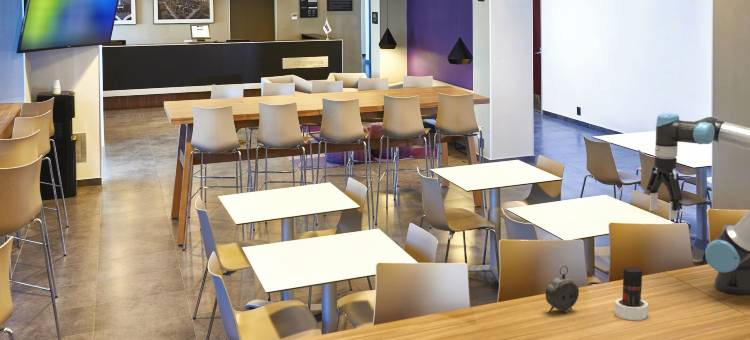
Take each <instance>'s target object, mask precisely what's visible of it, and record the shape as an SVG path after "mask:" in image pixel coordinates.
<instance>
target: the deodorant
mask: <svg viewBox="0 0 750 340" xmlns="http://www.w3.org/2000/svg"><path fill="white" fill-rule="evenodd" d="M622 275H623V278H622V279H623V281H622V298H623V300H622V305H624V306H628V307H641V300H642V286H643V269H642V268H641V267H639V266H638V267H637V266H625V267H624V268H623V273H622Z"/></svg>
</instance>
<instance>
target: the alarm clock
mask: <svg viewBox="0 0 750 340" xmlns="http://www.w3.org/2000/svg"><path fill="white" fill-rule="evenodd" d="M563 268H566V272H565V273H562V269H563ZM568 272H569V267H568V266H566V265H562V266H561V267H560V268H559V274H560V275H559V276H557V277H555V278H553V279H552V280H551V281H550V282H549V283H548V285H547V286H546V289H545V300H546V302H547V304H549V305H550V306H551V307H550V310H548V313H551V312H552V311H553V309H556V310H558V311H564V314H566V315H567V310H569V309H570V310H572V309H573V306H575V304H576V302H577V301H578V298H579V294H580V292H579V291H580V289H579V286H578V285H577V283H576V282H575V281H574V280H573V279H571V278H569V277H567V276H566V275H567V274H568Z"/></svg>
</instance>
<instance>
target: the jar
mask: <svg viewBox="0 0 750 340" xmlns="http://www.w3.org/2000/svg"><path fill="white" fill-rule="evenodd" d="M622 300H623V297H619V298H617V299H615V302H614V315H615V316H616V317H618V318H620V319H623V320H627V321H642V320H645V319H647V318H648V313H649V312H648V311H649V302H647V301H646V300H645V299H641V307H628V306H624V305H622Z"/></svg>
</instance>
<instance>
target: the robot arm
mask: <svg viewBox="0 0 750 340" xmlns="http://www.w3.org/2000/svg"><path fill="white" fill-rule="evenodd" d="M655 125H656V126H655V148H654V152H655V153H654V155H655V157H654V165H653V166H652V168H651V175H650V177H649V181H648V183H647V187H646V190H647V191H648V192H649V193H650V195H649V211H650V212H651V211H654V212H655V211H658V203H659V202H658V200H659V189H660V187H661V185H662V184H664V186H666V189H667V192H668V195H669V197H670V200H669V209H668V219H669V220H677V219H678V205H679V202H681V201H683V196H682V191H681V187H680V186H681V185H680V181H679V173H678V172H677V173H676V172H674V169H676V168H677V163H678V162H677V160H678V159H677V156H678V143H688V144H689V143H690V144H698V145H709V144H710V145H711V143H712V142H718V143H722V144H725V145H729V146H732V147H736V148H740V149H744V150H747V151H750V127H747V126H743V125H740V124H735V123H732V122H727V121H723V120H721V119H720V118H718V117H715V116H706V117H703V118H702V119H698V120H694V121H689V120H680V116H679V114H676V113H659V114H658V115H657V117H656V124H655ZM704 251H705V252H704V255H705V256H704V257H705V260H706V262H707V264H708V265H709V267H711V268H712V269H713V270H714V271H717V274H716V277H715V278H714V281H713V282H714V285H713V287H714V288H715V289H716V290H718V291H721V292H724V293H727V294H733V295H740V296H741V295H742V296H743V295H745V296H746V295H750V209H749V210H748V211H747V212H746V214H744V216H743V217H742V218H741V219H740V220H739V221H738V222H737V223H736V224H730V225H729V224H727V225H724V226H723V227H722V232H721V233H720V234H719V235H718V236H717V237H716V238H715V239H714V240H712V241H710V242H709V243H708V245H707V246H706V248H705V250H704Z"/></svg>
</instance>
